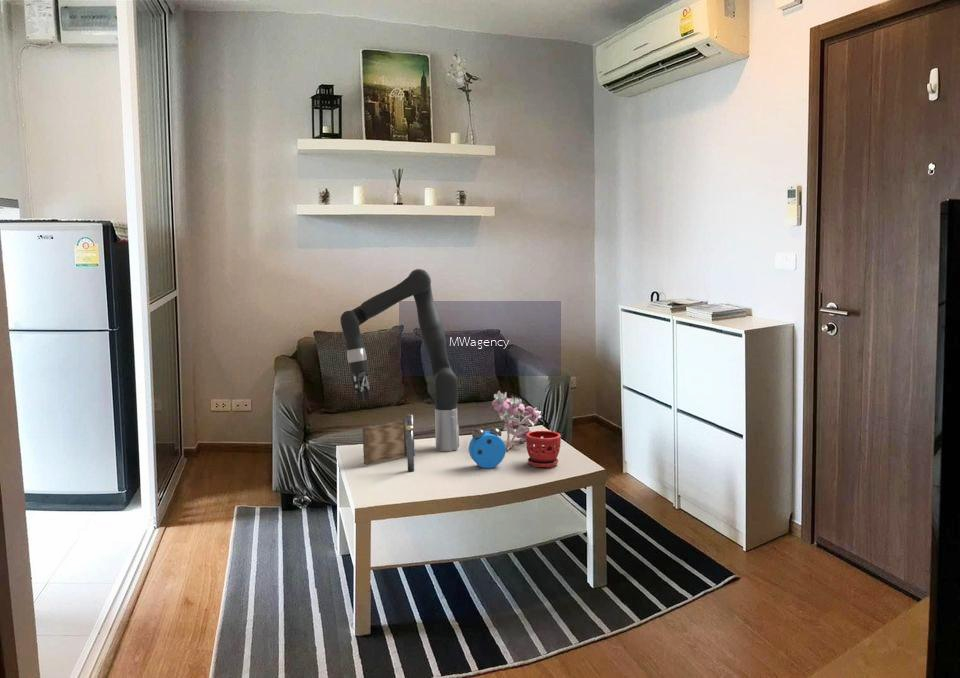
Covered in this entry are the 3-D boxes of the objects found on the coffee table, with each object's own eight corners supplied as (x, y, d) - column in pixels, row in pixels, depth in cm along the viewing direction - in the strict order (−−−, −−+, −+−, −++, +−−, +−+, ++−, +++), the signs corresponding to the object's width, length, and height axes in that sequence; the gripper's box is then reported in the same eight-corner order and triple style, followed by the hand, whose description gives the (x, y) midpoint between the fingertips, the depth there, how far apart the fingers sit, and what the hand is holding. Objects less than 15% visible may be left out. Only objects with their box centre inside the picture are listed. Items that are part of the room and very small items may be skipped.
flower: (550, 448, 286) (547, 388, 294) (496, 447, 282) (495, 386, 290) (536, 457, 305) (533, 400, 313) (484, 455, 300) (484, 398, 308)
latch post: (415, 469, 268) (414, 425, 266) (413, 472, 265) (412, 427, 263) (408, 469, 268) (406, 425, 266) (406, 472, 266) (404, 427, 263)
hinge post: (415, 455, 286) (414, 414, 284) (413, 457, 283) (412, 415, 281) (408, 455, 286) (407, 414, 284) (407, 457, 284) (406, 415, 281)
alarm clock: (501, 462, 275) (500, 424, 273) (506, 467, 269) (505, 428, 267) (468, 466, 271) (467, 427, 269) (473, 470, 266) (472, 431, 264)
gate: (405, 454, 284) (404, 418, 282) (408, 456, 283) (406, 419, 281) (363, 464, 273) (362, 426, 271) (366, 465, 272) (364, 427, 270)
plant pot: (561, 469, 265) (561, 438, 264) (526, 469, 266) (526, 438, 264) (559, 459, 278) (559, 429, 277) (526, 459, 279) (525, 429, 277)
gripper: (360, 359, 276) (368, 401, 276) (371, 357, 290) (378, 397, 290) (342, 363, 277) (349, 404, 277) (354, 360, 291) (361, 399, 291)
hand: (364, 400), depth 283 cm, fingers open, 8 cm apart
